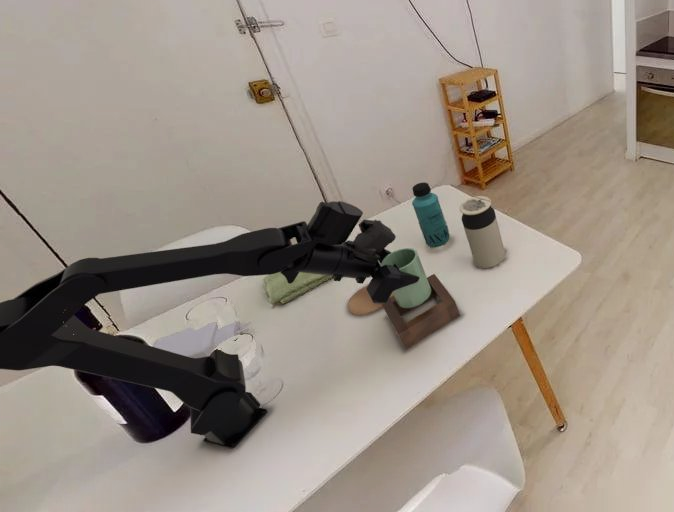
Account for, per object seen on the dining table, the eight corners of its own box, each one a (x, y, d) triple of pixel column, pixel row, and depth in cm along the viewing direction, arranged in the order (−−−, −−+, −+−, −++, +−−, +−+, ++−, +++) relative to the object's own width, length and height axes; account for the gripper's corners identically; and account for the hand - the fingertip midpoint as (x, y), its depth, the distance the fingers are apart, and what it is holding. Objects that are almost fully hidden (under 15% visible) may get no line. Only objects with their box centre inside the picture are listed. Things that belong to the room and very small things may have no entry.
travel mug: (488, 273, 105) (472, 218, 97) (468, 261, 109) (451, 208, 100) (511, 254, 111) (498, 200, 102) (491, 244, 115) (477, 191, 106)
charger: (251, 348, 88) (155, 386, 81) (257, 318, 95) (169, 351, 88) (240, 333, 86) (140, 372, 79) (247, 304, 93) (156, 337, 86)
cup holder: (405, 350, 87) (398, 334, 84) (387, 317, 94) (380, 302, 92) (460, 315, 94) (455, 301, 92) (439, 287, 101) (434, 273, 99)
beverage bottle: (422, 249, 114) (399, 191, 104) (438, 234, 119) (419, 177, 109) (441, 254, 112) (420, 194, 102) (457, 238, 117) (439, 180, 108)
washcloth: (262, 283, 104) (256, 274, 103) (340, 246, 116) (335, 237, 114) (275, 310, 97) (268, 301, 95) (356, 267, 108) (352, 258, 107)
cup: (418, 310, 87) (402, 272, 82) (390, 306, 88) (373, 269, 83) (437, 285, 93) (424, 249, 88) (411, 282, 94) (396, 246, 89)
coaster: (376, 317, 94) (375, 316, 94) (338, 312, 96) (338, 310, 96) (404, 284, 103) (404, 283, 102) (370, 280, 104) (369, 278, 104)
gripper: (371, 244, 71) (449, 258, 83) (344, 201, 83) (416, 219, 95) (336, 302, 70) (420, 308, 82) (313, 250, 82) (390, 262, 94)
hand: (412, 270), depth 88 cm, fingers closed on cup, 7 cm apart
